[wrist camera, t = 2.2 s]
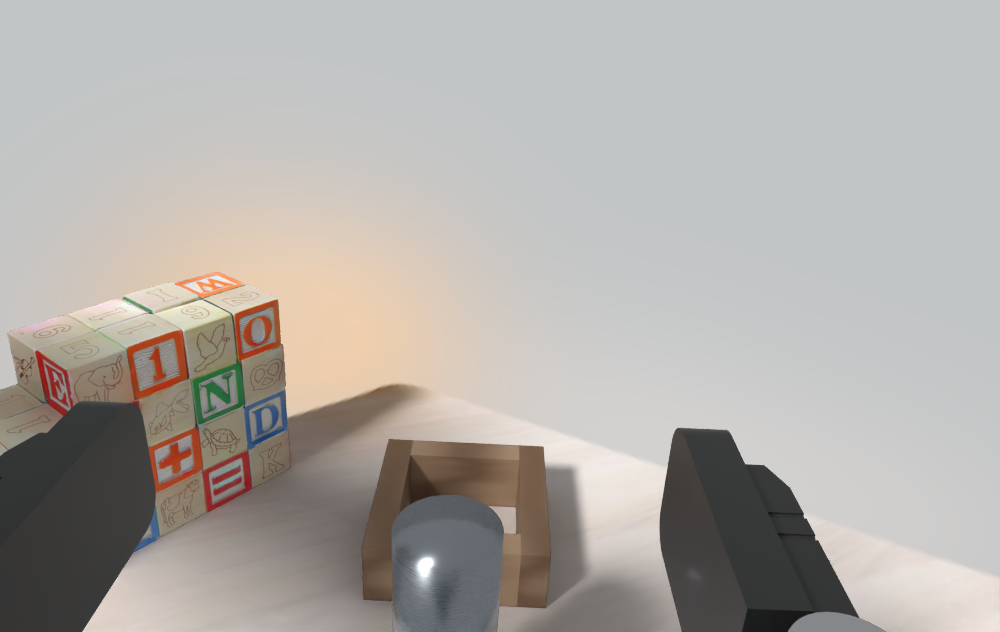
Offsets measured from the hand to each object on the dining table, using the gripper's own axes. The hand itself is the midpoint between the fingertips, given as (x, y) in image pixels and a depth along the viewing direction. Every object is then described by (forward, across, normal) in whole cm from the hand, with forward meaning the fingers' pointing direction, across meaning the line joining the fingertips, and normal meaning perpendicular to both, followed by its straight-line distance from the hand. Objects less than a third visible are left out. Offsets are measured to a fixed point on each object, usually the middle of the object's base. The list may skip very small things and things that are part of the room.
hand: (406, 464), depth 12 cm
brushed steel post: (+12, 0, +24) cm, 26 cm away
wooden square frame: (+25, 0, +23) cm, 34 cm away
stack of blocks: (+25, +20, +24) cm, 40 cm away
